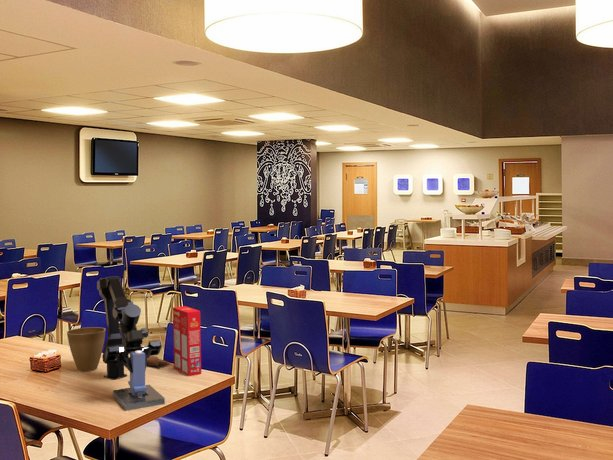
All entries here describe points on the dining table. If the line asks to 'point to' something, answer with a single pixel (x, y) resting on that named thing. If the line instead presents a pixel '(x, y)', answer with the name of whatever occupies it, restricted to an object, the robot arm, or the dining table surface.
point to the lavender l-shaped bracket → (137, 373)
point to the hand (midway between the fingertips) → (138, 371)
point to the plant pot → (86, 346)
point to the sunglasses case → (156, 362)
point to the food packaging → (187, 340)
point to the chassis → (131, 403)
